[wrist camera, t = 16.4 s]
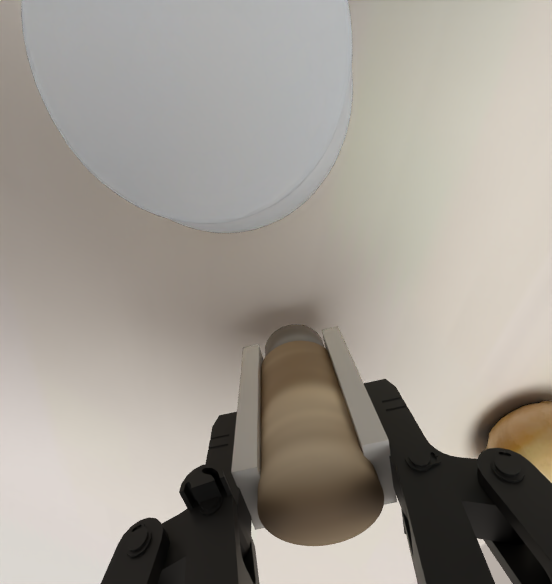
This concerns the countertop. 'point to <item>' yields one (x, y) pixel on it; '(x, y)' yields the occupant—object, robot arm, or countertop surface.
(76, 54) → the pill bottle
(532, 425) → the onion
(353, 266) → the countertop surface
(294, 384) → the tan wooden cylinder
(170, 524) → the robot arm
